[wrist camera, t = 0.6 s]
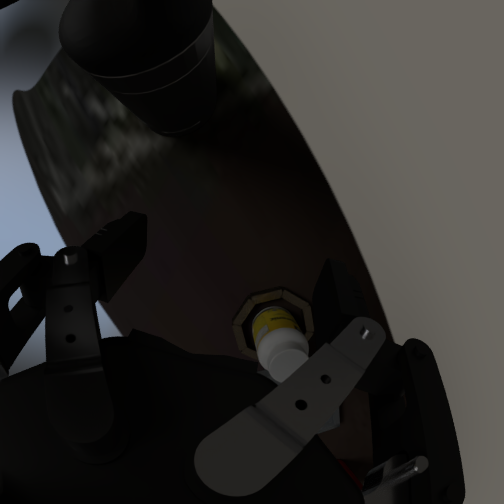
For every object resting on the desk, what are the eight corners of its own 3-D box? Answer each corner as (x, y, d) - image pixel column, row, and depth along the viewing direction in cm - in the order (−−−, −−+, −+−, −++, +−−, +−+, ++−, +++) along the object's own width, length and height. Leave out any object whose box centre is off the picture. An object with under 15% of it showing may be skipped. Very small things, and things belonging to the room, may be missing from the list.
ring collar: (225, 299, 33) (225, 302, 32) (303, 279, 34) (306, 282, 32) (244, 364, 35) (245, 369, 34) (314, 346, 36) (317, 350, 34)
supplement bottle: (302, 315, 35) (328, 355, 25) (279, 349, 35) (297, 395, 26) (265, 297, 34) (281, 334, 24) (243, 333, 34) (250, 378, 25)
